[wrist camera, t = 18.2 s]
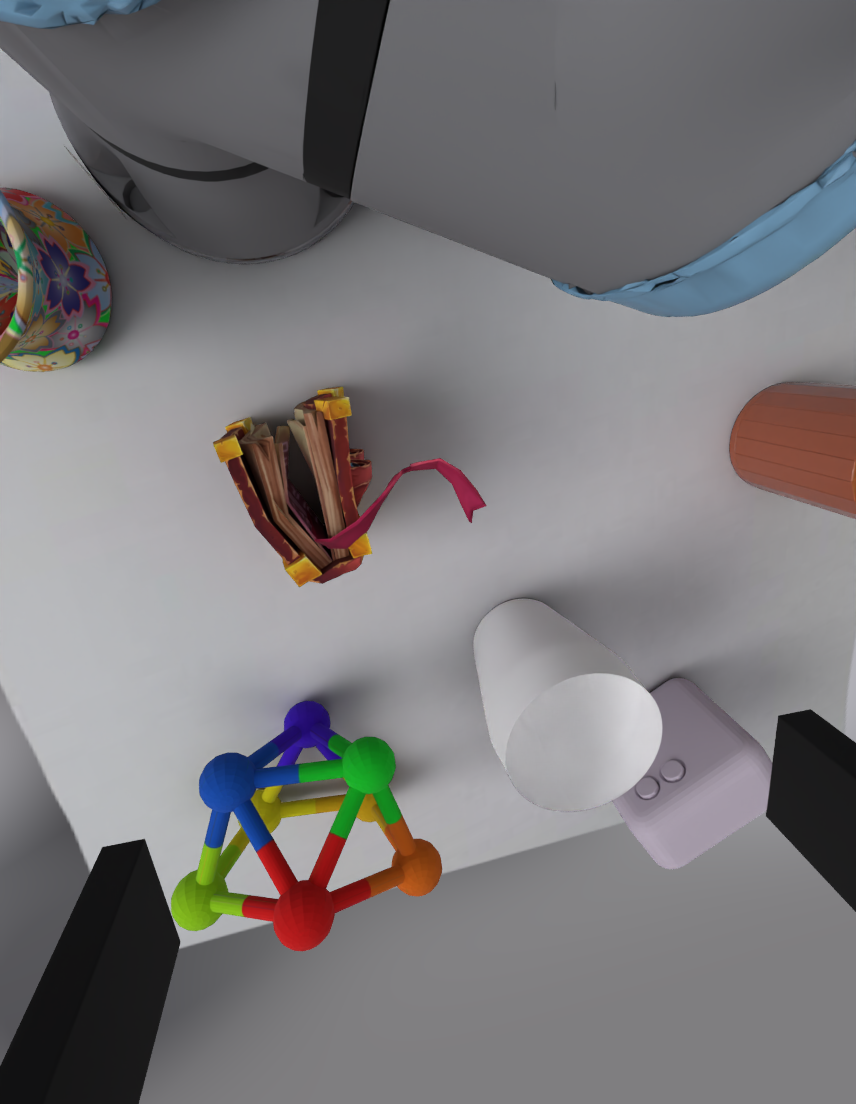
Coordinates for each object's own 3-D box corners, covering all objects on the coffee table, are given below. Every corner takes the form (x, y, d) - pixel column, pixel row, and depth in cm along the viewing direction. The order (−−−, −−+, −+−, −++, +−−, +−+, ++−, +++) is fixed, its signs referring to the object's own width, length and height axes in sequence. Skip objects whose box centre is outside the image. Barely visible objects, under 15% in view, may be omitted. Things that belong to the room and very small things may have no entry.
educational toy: (372, 637, 41) (423, 776, 27) (412, 778, 45) (473, 959, 32) (148, 707, 38) (78, 901, 25) (214, 849, 43) (185, 1080, 29)
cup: (584, 579, 41) (679, 665, 30) (569, 690, 44) (651, 807, 33) (459, 583, 39) (509, 674, 28) (452, 697, 42) (495, 821, 31)
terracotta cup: (733, 388, 38) (863, 400, 29) (832, 376, 39) (990, 383, 29) (725, 494, 40) (843, 537, 31) (818, 481, 41) (960, 518, 32)
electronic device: (676, 663, 44) (768, 745, 35) (702, 702, 46) (795, 791, 37) (570, 737, 45) (632, 837, 36) (599, 773, 47) (665, 878, 37)
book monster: (221, 405, 33) (422, 369, 35) (261, 549, 37) (443, 510, 38) (191, 431, 24) (472, 380, 25) (249, 624, 27) (494, 567, 29)
